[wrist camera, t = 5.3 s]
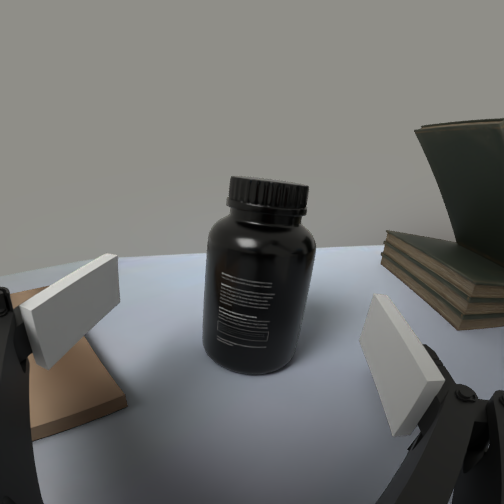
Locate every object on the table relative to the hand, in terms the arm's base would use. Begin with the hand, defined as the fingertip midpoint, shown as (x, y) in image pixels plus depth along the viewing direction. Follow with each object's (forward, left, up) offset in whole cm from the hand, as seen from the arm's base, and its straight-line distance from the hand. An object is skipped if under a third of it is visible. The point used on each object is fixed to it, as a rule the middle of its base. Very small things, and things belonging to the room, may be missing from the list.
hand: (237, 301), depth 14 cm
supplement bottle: (-5, -2, -7) cm, 8 cm away
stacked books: (-37, +12, -7) cm, 39 cm away
